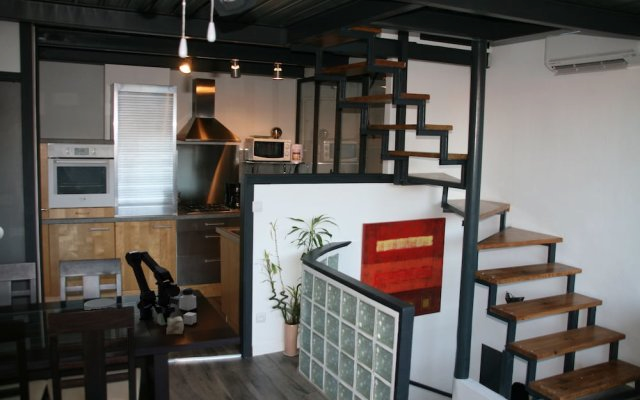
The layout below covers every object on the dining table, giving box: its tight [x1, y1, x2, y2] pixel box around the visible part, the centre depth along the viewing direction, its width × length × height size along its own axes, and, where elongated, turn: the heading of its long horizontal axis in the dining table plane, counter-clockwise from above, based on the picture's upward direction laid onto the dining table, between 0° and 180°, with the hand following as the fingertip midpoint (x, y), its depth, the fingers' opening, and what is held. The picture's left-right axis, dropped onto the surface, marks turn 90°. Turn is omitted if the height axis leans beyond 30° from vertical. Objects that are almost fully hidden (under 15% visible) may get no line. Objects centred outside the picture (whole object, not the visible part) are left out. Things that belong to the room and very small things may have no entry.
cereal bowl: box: [83, 298, 117, 311], centre depth 333 cm, size 17×17×7 cm
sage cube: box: [156, 313, 171, 326], centre depth 320 cm, size 5×5×5 cm
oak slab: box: [166, 322, 185, 335], centre depth 308 cm, size 8×8×4 cm
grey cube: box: [182, 311, 197, 325], centre depth 322 cm, size 5×5×5 cm
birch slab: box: [166, 316, 184, 328], centre depth 308 cm, size 7×7×4 cm
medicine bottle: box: [178, 287, 197, 312], centre depth 346 cm, size 7×7×12 cm
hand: (163, 321), depth 321 cm, fingers open, 8 cm apart
